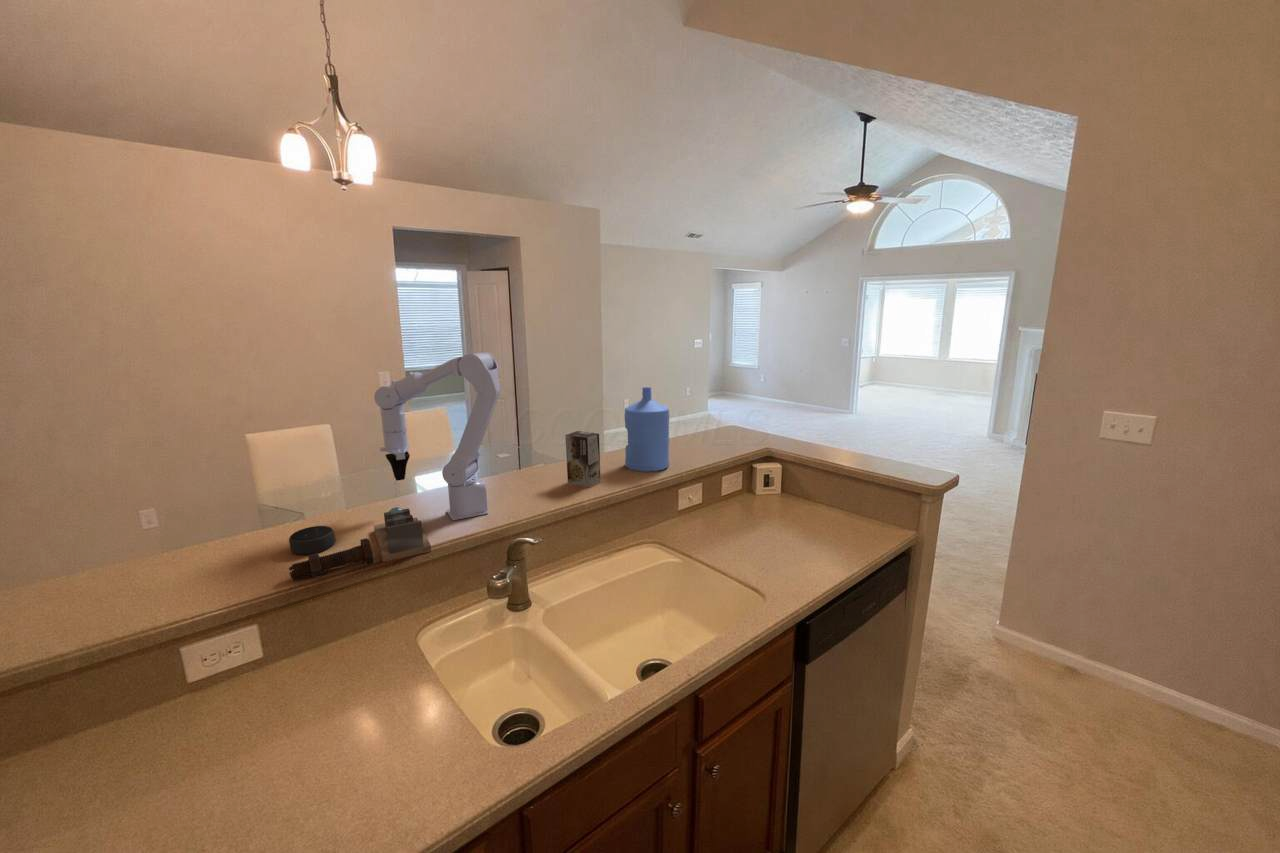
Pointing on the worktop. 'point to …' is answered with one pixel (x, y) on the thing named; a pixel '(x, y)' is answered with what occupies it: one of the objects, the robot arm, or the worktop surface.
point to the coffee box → (583, 458)
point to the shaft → (397, 516)
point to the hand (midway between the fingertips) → (400, 479)
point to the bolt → (333, 560)
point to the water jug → (647, 435)
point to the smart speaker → (312, 540)
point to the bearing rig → (401, 536)
